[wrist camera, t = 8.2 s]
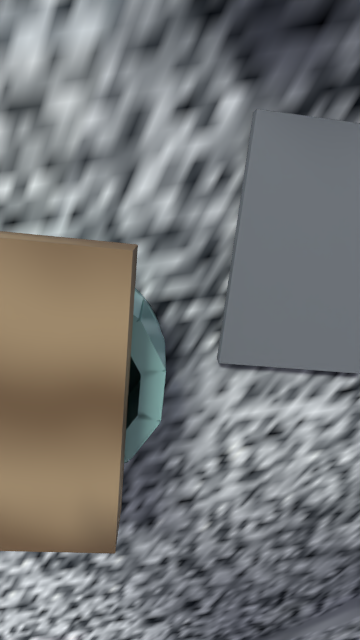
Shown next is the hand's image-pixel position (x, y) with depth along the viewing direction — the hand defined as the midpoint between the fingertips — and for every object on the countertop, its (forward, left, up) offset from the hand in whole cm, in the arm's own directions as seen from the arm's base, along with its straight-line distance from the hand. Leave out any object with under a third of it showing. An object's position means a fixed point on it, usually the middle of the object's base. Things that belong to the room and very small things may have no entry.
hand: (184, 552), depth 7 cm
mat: (+6, -7, -12) cm, 15 cm away
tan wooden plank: (0, +5, -7) cm, 9 cm away
